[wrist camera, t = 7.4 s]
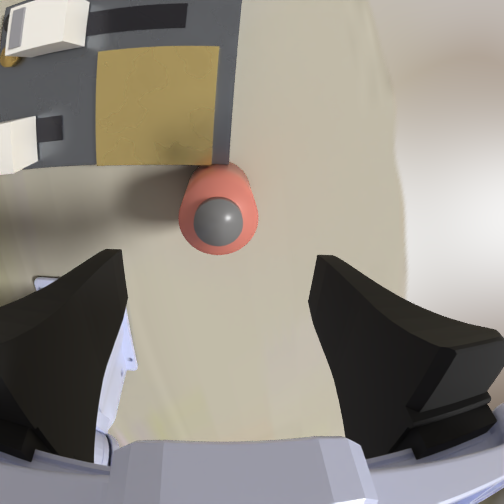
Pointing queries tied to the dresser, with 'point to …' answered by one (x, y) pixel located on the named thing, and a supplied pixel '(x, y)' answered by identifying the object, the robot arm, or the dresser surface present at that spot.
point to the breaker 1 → (17, 144)
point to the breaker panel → (131, 86)
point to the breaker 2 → (46, 27)
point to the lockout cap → (218, 209)
